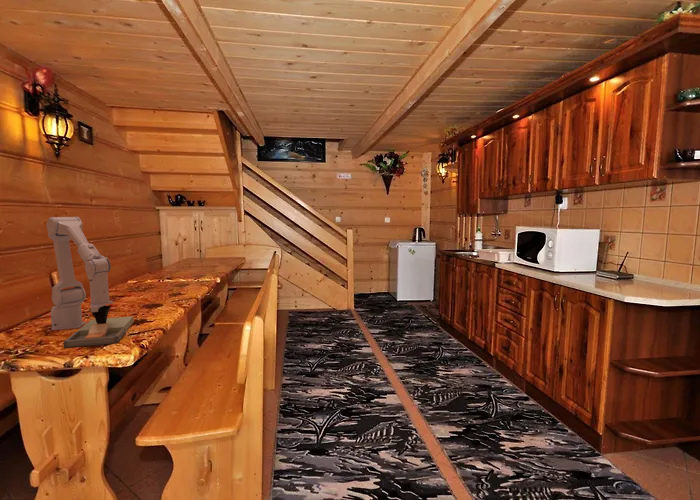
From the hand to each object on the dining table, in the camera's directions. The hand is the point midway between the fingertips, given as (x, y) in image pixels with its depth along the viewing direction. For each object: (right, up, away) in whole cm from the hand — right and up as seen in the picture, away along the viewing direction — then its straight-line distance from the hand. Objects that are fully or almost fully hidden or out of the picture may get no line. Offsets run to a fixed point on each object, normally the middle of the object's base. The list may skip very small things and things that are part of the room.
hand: (101, 326), depth 141 cm
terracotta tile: (+3, -4, -8) cm, 9 cm away
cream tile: (+1, -2, -3) cm, 3 cm away
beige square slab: (-2, -3, +6) cm, 7 cm away
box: (+2, -4, -6) cm, 7 cm away
